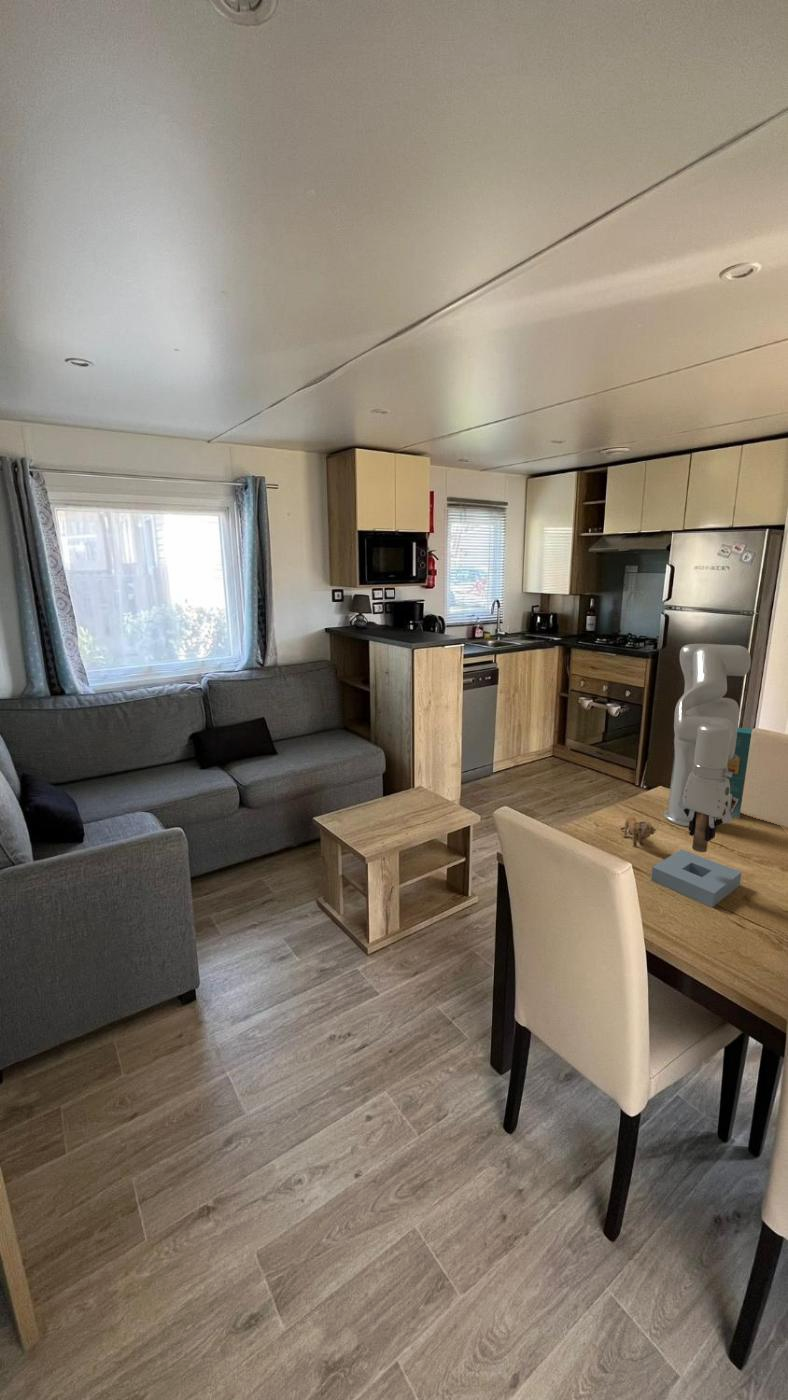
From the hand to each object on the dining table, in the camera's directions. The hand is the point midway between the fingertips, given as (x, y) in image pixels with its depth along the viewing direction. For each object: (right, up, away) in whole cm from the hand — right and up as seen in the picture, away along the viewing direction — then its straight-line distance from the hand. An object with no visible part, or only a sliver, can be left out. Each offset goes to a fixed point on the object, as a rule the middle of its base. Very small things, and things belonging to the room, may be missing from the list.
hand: (701, 836), depth 149 cm
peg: (0, -4, +1) cm, 4 cm away
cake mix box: (+28, -2, +50) cm, 57 cm away
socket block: (0, -14, +3) cm, 14 cm away
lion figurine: (-6, -8, +27) cm, 29 cm away
